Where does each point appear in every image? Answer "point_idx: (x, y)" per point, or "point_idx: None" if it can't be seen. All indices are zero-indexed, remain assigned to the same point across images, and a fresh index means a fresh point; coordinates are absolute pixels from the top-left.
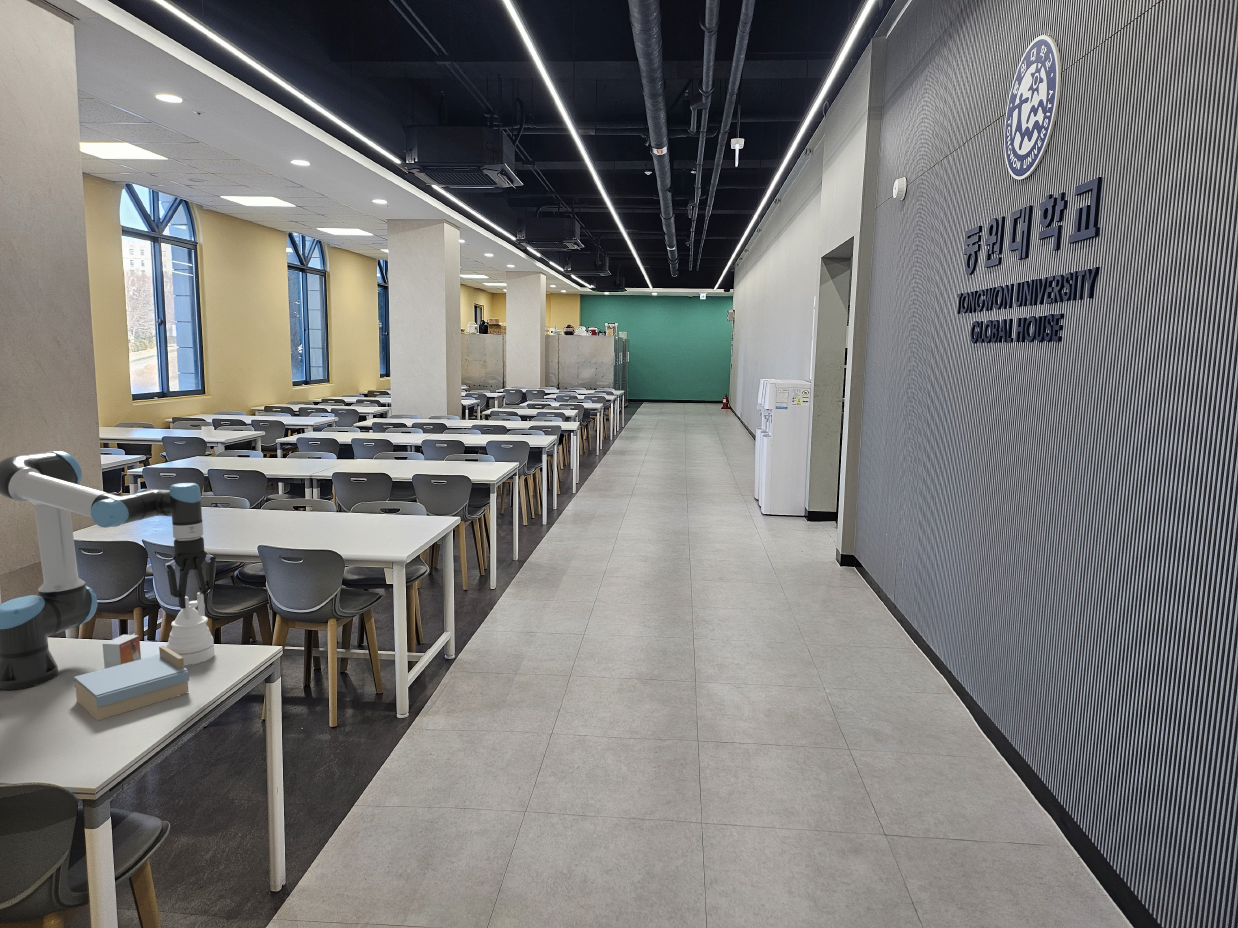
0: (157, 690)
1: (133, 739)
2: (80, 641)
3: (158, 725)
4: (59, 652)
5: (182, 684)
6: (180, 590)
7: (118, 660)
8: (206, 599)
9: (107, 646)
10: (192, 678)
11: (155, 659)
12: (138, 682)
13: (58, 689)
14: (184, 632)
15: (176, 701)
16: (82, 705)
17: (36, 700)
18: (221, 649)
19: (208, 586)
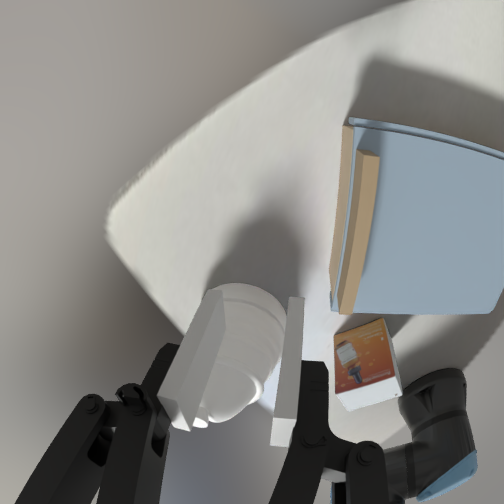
0: None
1: (490, 22)
2: None
3: (450, 25)
4: (355, 430)
5: None
6: (315, 487)
7: (391, 348)
8: (157, 360)
9: (400, 385)
10: (294, 207)
11: (367, 284)
12: (476, 157)
13: (447, 341)
14: (249, 355)
15: (385, 99)
16: None
17: (482, 323)
18: (184, 309)
19: (103, 425)
